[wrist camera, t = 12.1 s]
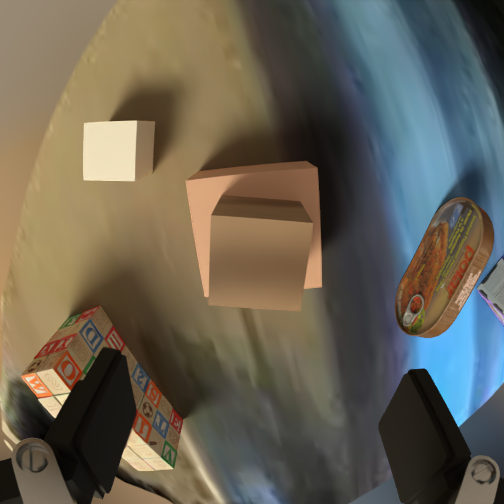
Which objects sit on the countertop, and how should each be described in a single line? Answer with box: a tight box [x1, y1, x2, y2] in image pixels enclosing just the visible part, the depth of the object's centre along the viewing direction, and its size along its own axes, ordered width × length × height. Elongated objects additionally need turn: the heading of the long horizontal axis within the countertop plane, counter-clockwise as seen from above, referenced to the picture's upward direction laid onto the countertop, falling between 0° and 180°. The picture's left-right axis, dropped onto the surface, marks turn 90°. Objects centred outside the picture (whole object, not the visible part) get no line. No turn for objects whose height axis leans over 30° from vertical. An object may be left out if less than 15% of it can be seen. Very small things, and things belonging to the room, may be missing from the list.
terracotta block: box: [186, 161, 322, 297], centre depth 28 cm, size 10×10×6 cm
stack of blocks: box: [21, 306, 183, 471], centre depth 33 cm, size 21×6×12 cm, turn 22°
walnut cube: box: [209, 195, 313, 311], centre depth 23 cm, size 6×6×6 cm
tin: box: [395, 197, 494, 338], centre depth 28 cm, size 15×3×8 cm, turn 159°
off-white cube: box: [83, 121, 155, 181], centre depth 26 cm, size 5×5×5 cm
